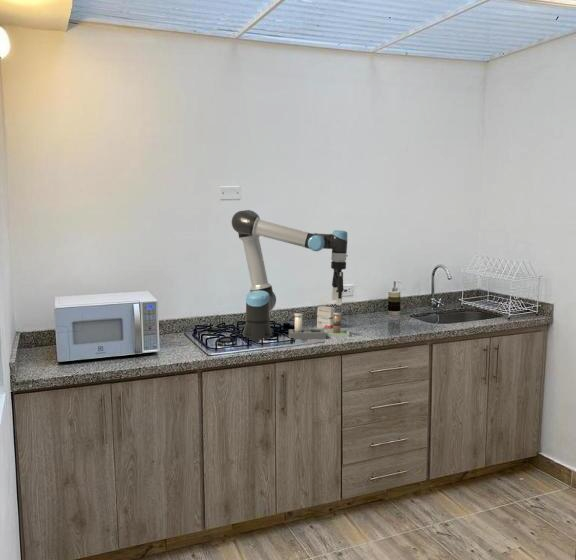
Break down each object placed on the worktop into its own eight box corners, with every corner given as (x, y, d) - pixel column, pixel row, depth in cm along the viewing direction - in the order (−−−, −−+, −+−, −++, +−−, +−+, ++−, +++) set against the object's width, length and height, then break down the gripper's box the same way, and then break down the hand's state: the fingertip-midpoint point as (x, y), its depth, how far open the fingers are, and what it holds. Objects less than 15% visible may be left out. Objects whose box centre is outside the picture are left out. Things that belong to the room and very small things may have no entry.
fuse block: (290, 341, 299) (290, 333, 299) (288, 336, 308) (288, 329, 308) (325, 340, 301) (326, 333, 300) (323, 336, 310) (323, 329, 309)
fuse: (294, 338, 302) (294, 314, 300) (293, 336, 306) (294, 312, 304) (302, 337, 302) (303, 314, 300) (301, 336, 306) (302, 312, 304)
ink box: (334, 328, 329) (335, 307, 327) (330, 330, 325) (330, 308, 323) (320, 326, 334) (321, 305, 332) (316, 328, 329) (316, 306, 328)
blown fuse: (333, 336, 308) (333, 313, 307) (332, 334, 313) (332, 311, 311) (341, 336, 309) (342, 313, 307) (340, 334, 313) (340, 311, 311)
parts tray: (326, 338, 306) (326, 333, 305) (323, 334, 315) (324, 329, 314) (349, 338, 307) (349, 333, 306) (346, 334, 316) (346, 329, 315)
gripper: (350, 264, 293) (348, 307, 296) (341, 258, 318) (339, 298, 321) (335, 263, 293) (333, 306, 296) (327, 258, 317) (325, 297, 320)
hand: (336, 302), depth 308 cm, fingers open, 13 cm apart
